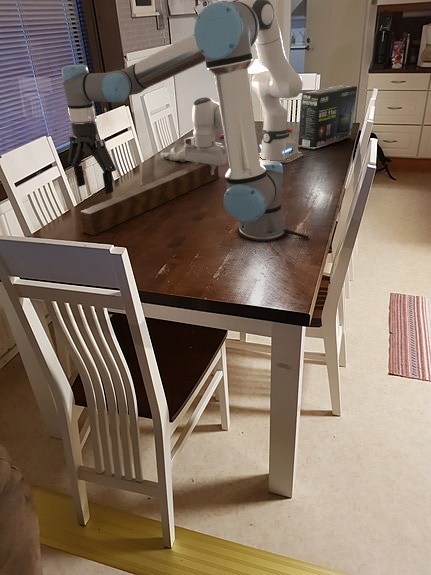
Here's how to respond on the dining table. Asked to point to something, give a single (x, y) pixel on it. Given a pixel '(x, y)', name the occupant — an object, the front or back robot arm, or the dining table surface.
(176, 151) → the fossil
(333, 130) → the router box
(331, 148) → the dining table surface
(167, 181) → the bar
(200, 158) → the back robot arm
